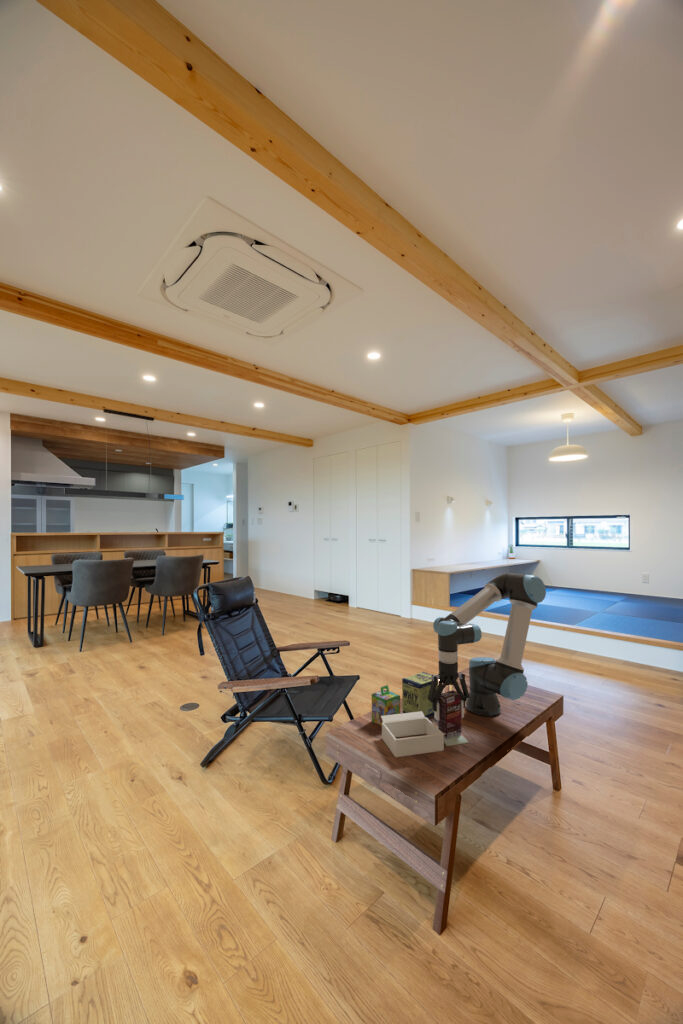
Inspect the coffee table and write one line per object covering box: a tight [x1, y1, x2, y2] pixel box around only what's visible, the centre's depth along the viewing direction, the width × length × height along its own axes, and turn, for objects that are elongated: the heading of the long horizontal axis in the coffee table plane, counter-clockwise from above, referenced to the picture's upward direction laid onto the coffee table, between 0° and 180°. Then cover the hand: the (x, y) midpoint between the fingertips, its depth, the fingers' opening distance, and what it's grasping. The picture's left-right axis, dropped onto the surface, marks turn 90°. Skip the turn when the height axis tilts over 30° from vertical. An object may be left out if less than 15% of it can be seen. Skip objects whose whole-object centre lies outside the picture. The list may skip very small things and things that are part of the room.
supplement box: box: [437, 689, 462, 739], centre depth 160 cm, size 9×5×16 cm, turn 122°
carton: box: [381, 711, 446, 758], centre depth 154 cm, size 19×20×7 cm
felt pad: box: [444, 733, 469, 747], centre depth 160 cm, size 9×13×1 cm
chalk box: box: [371, 684, 401, 727], centre depth 172 cm, size 9×9×15 cm
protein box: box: [401, 671, 438, 719], centre depth 182 cm, size 10×16×16 cm
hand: (449, 717), depth 160 cm, fingers open, 10 cm apart
